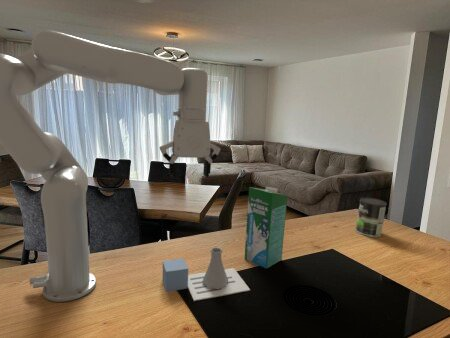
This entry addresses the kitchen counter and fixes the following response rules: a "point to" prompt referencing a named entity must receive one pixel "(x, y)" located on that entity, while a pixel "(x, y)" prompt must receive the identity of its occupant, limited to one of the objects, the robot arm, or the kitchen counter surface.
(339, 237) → the kitchen counter surface
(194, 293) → the letter
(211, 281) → the flask
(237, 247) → the kitchen counter surface
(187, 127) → the robot arm
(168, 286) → the blue cube
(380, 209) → the coffee can
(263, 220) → the milk carton
